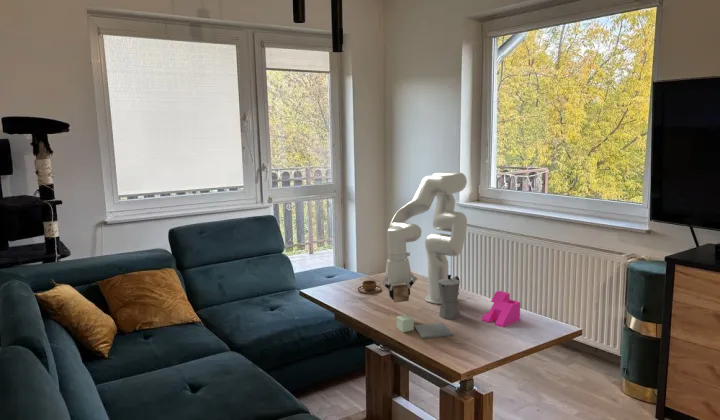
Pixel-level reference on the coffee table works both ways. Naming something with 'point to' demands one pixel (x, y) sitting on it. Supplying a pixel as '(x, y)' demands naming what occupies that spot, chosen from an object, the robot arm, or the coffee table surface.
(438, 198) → the robot arm
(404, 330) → the pale green block
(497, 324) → the pink angular chunky piece
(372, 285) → the place setting
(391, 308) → the coffee table surface
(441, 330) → the slate coaster
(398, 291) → the walnut cube
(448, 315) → the coffeepot
